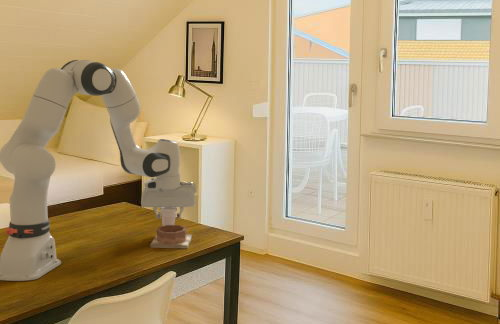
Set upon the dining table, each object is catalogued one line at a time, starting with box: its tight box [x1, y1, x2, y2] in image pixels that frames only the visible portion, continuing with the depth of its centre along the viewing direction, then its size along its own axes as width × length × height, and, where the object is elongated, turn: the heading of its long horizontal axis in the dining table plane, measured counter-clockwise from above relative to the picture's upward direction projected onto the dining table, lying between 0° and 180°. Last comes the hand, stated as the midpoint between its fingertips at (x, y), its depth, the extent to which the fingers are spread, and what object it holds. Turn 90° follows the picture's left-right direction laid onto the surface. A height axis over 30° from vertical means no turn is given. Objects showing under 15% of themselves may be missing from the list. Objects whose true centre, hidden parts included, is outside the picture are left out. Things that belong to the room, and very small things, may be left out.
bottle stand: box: [149, 224, 193, 249], centre depth 221 cm, size 13×13×5 cm
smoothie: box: [159, 207, 178, 226], centre depth 232 cm, size 6×6×14 cm
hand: (168, 218), depth 232 cm, fingers closed on smoothie, 6 cm apart
